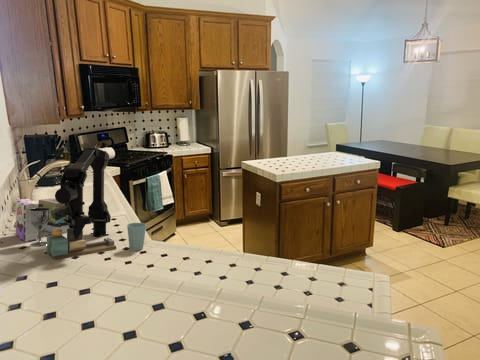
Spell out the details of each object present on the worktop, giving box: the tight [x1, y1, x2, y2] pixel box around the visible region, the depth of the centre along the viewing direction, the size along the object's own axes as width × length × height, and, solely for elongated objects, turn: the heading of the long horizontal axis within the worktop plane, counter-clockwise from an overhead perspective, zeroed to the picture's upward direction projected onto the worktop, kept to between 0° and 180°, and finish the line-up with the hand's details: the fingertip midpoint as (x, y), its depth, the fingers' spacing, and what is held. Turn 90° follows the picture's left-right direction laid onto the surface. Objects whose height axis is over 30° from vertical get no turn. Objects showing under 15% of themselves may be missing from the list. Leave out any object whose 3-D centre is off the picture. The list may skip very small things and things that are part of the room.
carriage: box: [66, 228, 87, 251], centre depth 142 cm, size 7×6×8 cm
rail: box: [45, 234, 117, 260], centre depth 145 cm, size 10×24×7 cm, turn 133°
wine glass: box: [29, 207, 51, 248], centre depth 150 cm, size 8×8×15 cm
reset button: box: [51, 230, 63, 236], centre depth 138 cm, size 4×4×1 cm
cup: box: [126, 222, 147, 252], centre depth 151 cm, size 8×8×10 cm
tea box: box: [37, 197, 69, 234], centre depth 173 cm, size 15×10×15 cm, turn 58°
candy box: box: [14, 198, 39, 243], centre depth 158 cm, size 14×6×16 cm, turn 45°
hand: (74, 237), depth 142 cm, fingers closed on carriage, 3 cm apart
